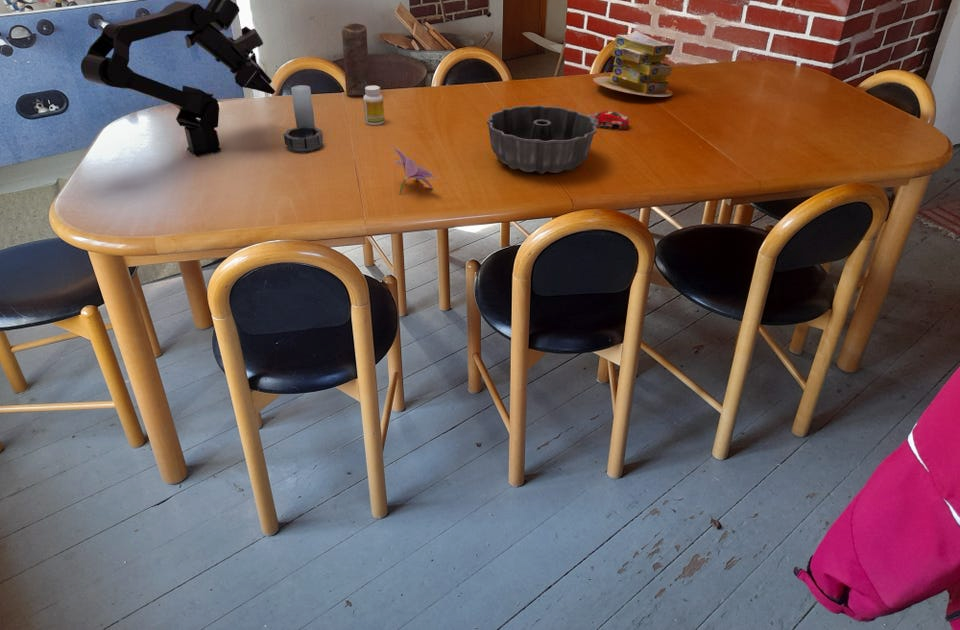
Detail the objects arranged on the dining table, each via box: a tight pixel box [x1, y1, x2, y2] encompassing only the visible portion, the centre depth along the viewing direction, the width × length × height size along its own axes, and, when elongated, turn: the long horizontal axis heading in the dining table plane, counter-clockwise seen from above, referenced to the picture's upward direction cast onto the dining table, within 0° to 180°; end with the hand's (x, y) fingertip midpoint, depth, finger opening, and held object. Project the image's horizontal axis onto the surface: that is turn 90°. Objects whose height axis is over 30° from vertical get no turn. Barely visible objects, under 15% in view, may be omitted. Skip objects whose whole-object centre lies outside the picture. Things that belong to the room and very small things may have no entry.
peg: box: [290, 84, 316, 128], centre depth 182 cm, size 5×5×12 cm
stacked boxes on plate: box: [593, 30, 675, 98], centre depth 214 cm, size 25×25×17 cm
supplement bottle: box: [362, 85, 385, 126], centre depth 191 cm, size 5×5×10 cm
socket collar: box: [282, 126, 324, 154], centre depth 177 cm, size 9×9×4 cm
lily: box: [391, 145, 437, 194], centre depth 155 cm, size 12×12×10 cm
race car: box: [585, 110, 630, 130], centre depth 192 cm, size 13×5×4 cm, turn 69°
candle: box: [341, 22, 371, 97], centre depth 208 cm, size 8×7×20 cm
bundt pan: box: [486, 104, 598, 175], centre depth 169 cm, size 26×26×10 cm
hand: (272, 87), depth 177 cm, fingers open, 9 cm apart
